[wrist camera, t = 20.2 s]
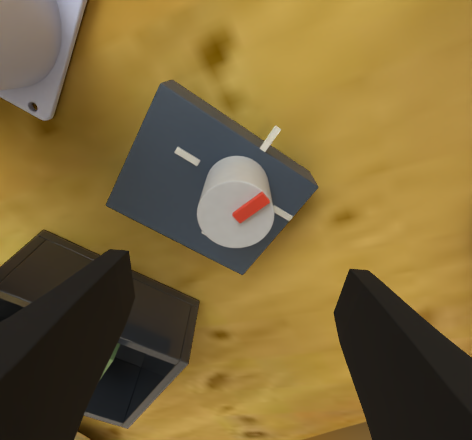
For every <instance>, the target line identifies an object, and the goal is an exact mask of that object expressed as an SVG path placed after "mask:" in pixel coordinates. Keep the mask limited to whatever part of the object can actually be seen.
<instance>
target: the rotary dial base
mask: <svg viewBox="0 0 472 440" xmlns="http://www.w3.org/2000/svg"><path fill="white" fill-rule="evenodd" d="M280 130H281V129H280V128H278V127H277V126H276V125H275V126H274V128H273V129H272V131H271V132H270V133H269V135H268V136H267V138H266V139H265V141H263V140H262V139H260V138H259V137H257V136H256V135H254V134H253V133H251V132H250V131H248V130H247V129H245V128H244V127H242V126H241V125H239V124H238V123H236V122H235V121H233V120H232V119H230V118H229V117H227V116H226V115H224V114H223V113H221V112H220V111H218V110H217V109H216V108H214V107H213V106H211V105H210V104H208V103H207V102H205V101H204V100H202V99H201V98H199V97H198V96H196V95H195V94H193V93H192V92H190V91H189V90H187V89H186V88H184V87H183V86H181V85H180V84H178V83H177V82H175V81H174V80H169V81H166V82H163V83H161V84H160V85H159V87H158V90H157V92H156V94H155V96H154V99H153V101H152V103H151V105H150V107H149V110H148V112H147V114H146V116H145V119H144V121H143V123H142V125H141V127H140V130H139V132H138V134H137V136H136V138H135V141H134V143H133V145H132V147H131V150H130V152H129V154H128V156H127V158H126V161H125V163H124V165H123V167H122V170H121V172H120V174H119V176H118V178H117V181H116V183H115V185H114V187H113V190H112V192H111V194H110V196H109V198H108V201H107V203H106V206H107V207H109V208H111V209H113V210H115V211H117V212H119V213H121V214H123V215H125V216H127V217H129V218H131V219H133V220H135V221H137V222H139V223H141V224H143V225H145V226H147V227H149V228H151V229H153V230H155V231H157V232H158V233H160V234H162V235H164V236H166V237H168V238H170V239H172V240H174V241H176V242H178V243H180V244H182V245H184V246H186V247H188V248H190V249H192V250H194V251H196V252H198V253H200V254H202V255H204V256H206V257H208V258H210V259H212V260H214V261H216V262H218V263H220V264H221V265H223V266H225V267H227V268H229V269H231V270H233V271H235V272H237V273H239V274H241V275H243V274H244V273H245V272H246V271H247V270H248V268H249V267H250V266H251V265H252V264H253V263H254V261H255V260H256V259H257V258H258V257H259V256H260V255H261V253H262V252H263V251H264V250H265V249H266V248H267V246H268V245H269V244H270V243H271V242H272V241H273V239H274V238H275V237H276V236H277V235H278V234H279V233H280V231H281V230H282V229H283V228H284V227H285V226H286V224H287V223H288V222H289V221H290V220H291V219H292V218H293V216H294V215H295V214H296V213H297V212H298V211H299V209H300V208H301V207H302V206H303V205H304V204H305V202H306V201H307V200H308V199H309V198H310V197H311V196H312V194H313V193H314V192H315V191H316V190H317V189H318V185H317V183H316V182H315V180H314V178H313V176H312V175H311V173H310V171H308V170H307V169H305V168H304V167H302V166H301V165H299V164H298V163H296V162H295V161H293V160H292V159H290V158H289V157H287V156H286V155H284V154H283V153H281V152H280V151H278V150H277V149H275V148H274V147H272V146H271V143H272V142H273V140H274V139H275V138H276V136H277V135H278V133H279V132H280ZM230 156H244V157H247V158H250V159H252V160H254V161H256V162H257V163H258V164H259V165H260V166H261V167H262V168H263V169H264V171H265V173H266V175H267V178H268V182H269V187H270V192H271V198H272V203H273V208H274V221H273V225H272V227H271V229H270V231H269V232H268V234H267V235H266V236H265V237H264V238H263V239H262V240H260V241H259V242H257V243H256V244H253V245H251V246H248V247H243V248H229V247H224V246H221V245H219V244H217V243H215V242H213V241H212V240H210V239H209V238H208V237H207V236H206V235H205V234H204V233H203V231H202V230H201V228H200V226H199V223H198V219H197V208H198V204H199V201H200V197H201V194H202V191H203V187H204V184H205V181H206V178H207V175H208V172H209V171H210V169H211V168H212V167H213V165H215V164H216V163H217V162H218V161H220V160H222V159H224V158H226V157H230Z"/></svg>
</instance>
